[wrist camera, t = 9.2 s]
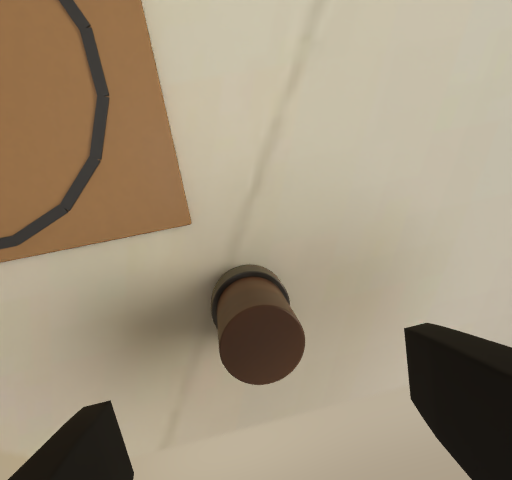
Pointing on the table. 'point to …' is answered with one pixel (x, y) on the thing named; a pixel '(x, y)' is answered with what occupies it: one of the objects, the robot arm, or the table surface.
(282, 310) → the cylinder
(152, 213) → the sheet
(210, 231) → the table surface
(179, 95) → the table surface
